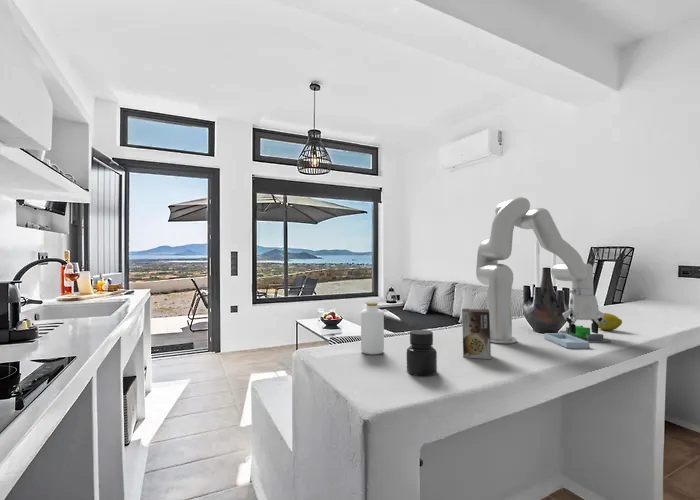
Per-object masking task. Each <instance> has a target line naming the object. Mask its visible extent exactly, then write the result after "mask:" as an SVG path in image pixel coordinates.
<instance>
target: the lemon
mask: <svg viewBox="0 0 700 500" xmlns="http://www.w3.org/2000/svg"><path fill="white" fill-rule="evenodd" d="M603 313H604V314H605V315H604V317H603V318H602V321H601V322H600V324H598V329H600V330H602V331H607V332H608V331H615V330H616V329H618V328H619V327H621V325H622V324H623V320H622V319H621V318H619V317H618V316H616V315H615V314H612V313H610V312H603Z"/></svg>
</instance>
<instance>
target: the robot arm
mask: <svg viewBox="0 0 700 500" xmlns="http://www.w3.org/2000/svg"><path fill="white" fill-rule="evenodd" d="M530 208H531V202H530V201H529V199H528V198H526V197H521V196H519V197H515V198H511V199H508V200H505V201H502V202H500V203H498V204H497V205H496V207H495V211H494V212H495V216H494V217H493V221H492V224H491V228H490V229H491V230H490V234H489V235H490V237H489V238H486V239H484V240H482V242H481V243H480V244H479V246H478V249H477V254H476V255H477V256H476V265H475V266H476V270H475V272H476V274H475V275H476V279H477V280H478V281H479V283H480V284H482V285H485V286H488V287H487V291H486V297H485V298H486V309H489V312H490V343H492V344H503V345H504V344H505V345H508V344H514V343H517V338H516V337H515V336H513V321H512V319H513V315H512V311H513V310H512V289H513V284H514V272H513V270H512V268H511V267H509V266H508V265H507V264H503V263H499V261H505V260H506V261H507V259H509V258H510V256H511V255H512V252H513V251H512V250H513V240H514V239H513V237H514V231H515V230H514V229H515V227H517V228H520V229H523V230H532V231H533V233H534V234H535V237H536V239H537V241H538V243H539V245H540V247H541V248H542V249H544V250H546V251H547V252H550V253H552V254H553V255H556V256H557V257H558V258H560V260H562V262H563V263H557V264H555V265H553V266H552V267H551V271H550V273H551V277H553V275H554V277H553V278H554V279H556V280H557V281H563V282H571V284H572V287H571V289H570V290H569V293H570V294H572V295H571V296H570V300H569V304H568V305H569V307H568V308H569V309H567V310H566V311H564V312H562V314H561V315H562V317H563V318H564V320H565V321H566V322H567V323H568V327H569V331H570V333H573V334H575V333H576V326H577V325H576V324H575V323H576V322H577V320H579V321H591V322H592V323H591V324H590V325H591V326H590V327H591V328H590V330H591V333H592V334H599V328H598V324H600V322H601V321H602V318H603V317H604V315H605V314H604V313H605V312H603V311H600V310H599V305H598V300H597V296H596V295H594V268H593V265H592V264H591V263H585V262H584V260H583V258H582V255H580V253H579V252H578V250H577V249H575V248H574V247H573V246H572V245H571V244H570V243H568V241H566V240H565V239H563V237H562V235H561V233H560V231H559V229H558V226H556V223H555V221H554V219H553V217H552V215H551V213H550V211H549V210H548V209H547V208H543V207H536V208H533V209H530Z"/></svg>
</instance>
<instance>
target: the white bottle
mask: <svg viewBox="0 0 700 500" xmlns="http://www.w3.org/2000/svg"><path fill="white" fill-rule="evenodd" d="M365 307H366V308H364V309H362V310H361V312H360V349H361V350H360V351H361V353H363V354H365V355H374V356H376V355H380V354H382V353H383V352H384V351H385V338H384V337H385V333H384V332H385V324H384V322H385V321H384V320H385V319H384V318H385V317H384V316H385V314H384V311H383V310H382V309H380V308H378V307H379V305H378V302H375V301H374V302H371V301H369V302H366V305H365Z"/></svg>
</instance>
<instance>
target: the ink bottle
mask: <svg viewBox="0 0 700 500" xmlns="http://www.w3.org/2000/svg"><path fill="white" fill-rule="evenodd" d="M409 341H410V342H409V344H410V346H409V347H408V348H407V349H406V371H407V372H408V373H409V374H411V375H414V376H418V377H429V376H433V375H436V373H438V356H437V355H438V353H437V350H436V348H434V346H433V344H434V333H433V331H431V330H427V329H412V330H410V331H409Z"/></svg>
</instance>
